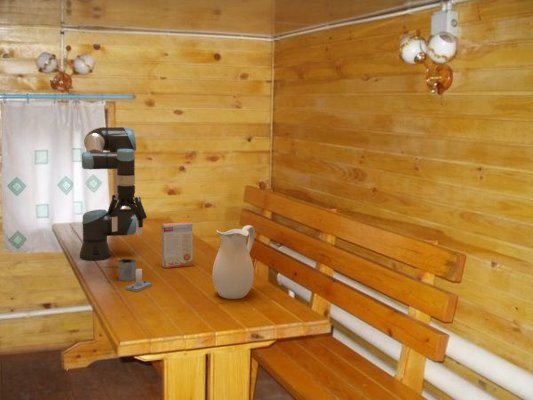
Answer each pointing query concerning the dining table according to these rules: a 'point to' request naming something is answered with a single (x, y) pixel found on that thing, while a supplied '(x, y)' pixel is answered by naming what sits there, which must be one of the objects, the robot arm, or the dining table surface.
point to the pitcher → (234, 263)
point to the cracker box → (177, 244)
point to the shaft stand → (138, 282)
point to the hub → (127, 269)
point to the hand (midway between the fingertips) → (126, 233)
